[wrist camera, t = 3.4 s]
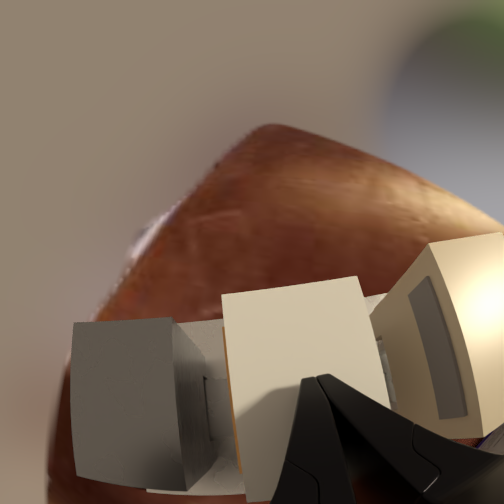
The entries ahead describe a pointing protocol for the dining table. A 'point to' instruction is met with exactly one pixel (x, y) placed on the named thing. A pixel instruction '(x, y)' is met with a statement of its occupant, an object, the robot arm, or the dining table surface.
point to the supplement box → (493, 441)
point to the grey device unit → (159, 405)
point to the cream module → (291, 364)
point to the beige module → (448, 337)
